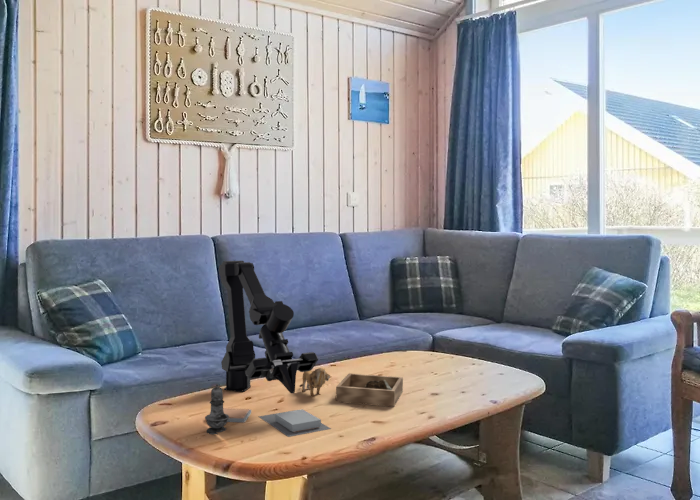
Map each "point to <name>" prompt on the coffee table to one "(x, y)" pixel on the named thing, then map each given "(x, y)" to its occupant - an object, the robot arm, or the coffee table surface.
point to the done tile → (237, 414)
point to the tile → (298, 420)
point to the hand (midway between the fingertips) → (292, 392)
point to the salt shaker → (216, 412)
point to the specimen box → (369, 390)
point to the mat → (271, 420)
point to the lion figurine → (314, 380)
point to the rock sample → (378, 385)
